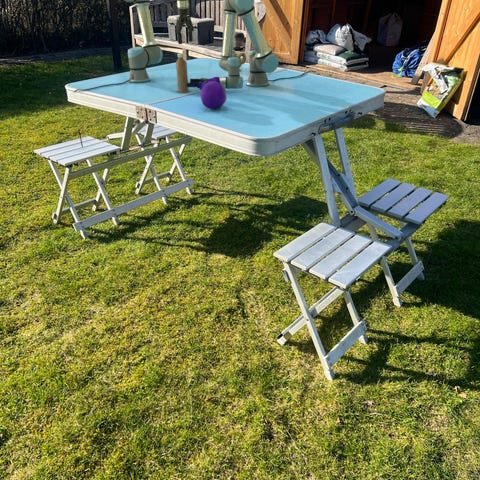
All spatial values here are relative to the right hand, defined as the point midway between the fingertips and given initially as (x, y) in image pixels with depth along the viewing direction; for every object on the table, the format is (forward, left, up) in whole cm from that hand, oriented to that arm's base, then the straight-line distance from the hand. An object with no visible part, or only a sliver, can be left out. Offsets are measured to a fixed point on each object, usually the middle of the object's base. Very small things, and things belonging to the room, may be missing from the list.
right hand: (188, 82), depth 301 cm
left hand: (-5, -20, +23) cm, 30 cm away
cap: (+3, -3, +18) cm, 18 cm away
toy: (-2, +45, -6) cm, 46 cm away
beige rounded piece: (-55, -65, -6) cm, 85 cm away
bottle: (+3, -3, -6) cm, 7 cm away
